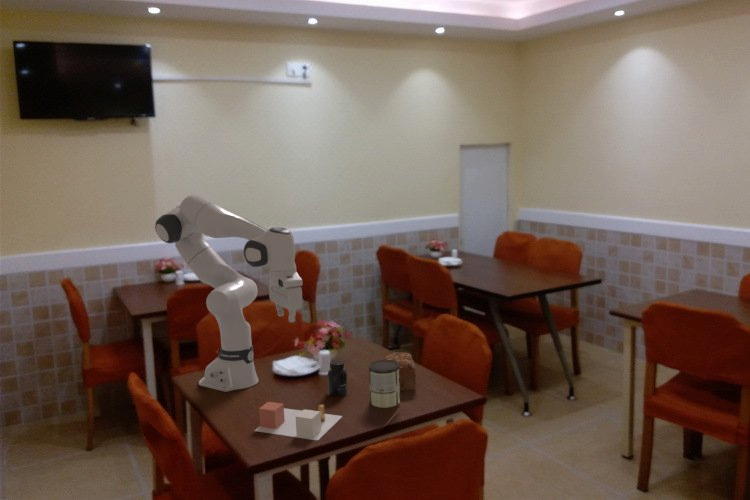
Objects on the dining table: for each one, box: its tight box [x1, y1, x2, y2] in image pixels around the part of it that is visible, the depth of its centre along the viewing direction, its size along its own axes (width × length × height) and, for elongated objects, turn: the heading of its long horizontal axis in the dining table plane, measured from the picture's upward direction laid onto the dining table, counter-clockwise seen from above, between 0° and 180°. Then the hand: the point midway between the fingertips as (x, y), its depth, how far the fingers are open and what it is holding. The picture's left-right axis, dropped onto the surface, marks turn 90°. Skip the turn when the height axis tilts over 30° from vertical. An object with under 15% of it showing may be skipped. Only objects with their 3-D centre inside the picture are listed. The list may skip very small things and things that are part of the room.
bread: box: [384, 351, 417, 392], centre depth 241 cm, size 19×11×10 cm, turn 2°
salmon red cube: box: [258, 401, 285, 429], centre depth 207 cm, size 6×6×6 cm
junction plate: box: [254, 407, 343, 441], centre depth 207 cm, size 22×18×1 cm
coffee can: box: [368, 359, 401, 409], centre depth 220 cm, size 10×10×14 cm
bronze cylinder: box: [317, 403, 326, 422], centre depth 208 cm, size 2×2×5 cm
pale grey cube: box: [296, 408, 321, 438], centre depth 200 cm, size 6×6×6 cm
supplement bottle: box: [327, 360, 348, 398], centre depth 230 cm, size 7×7×12 cm
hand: (286, 318), depth 214 cm, fingers open, 8 cm apart
